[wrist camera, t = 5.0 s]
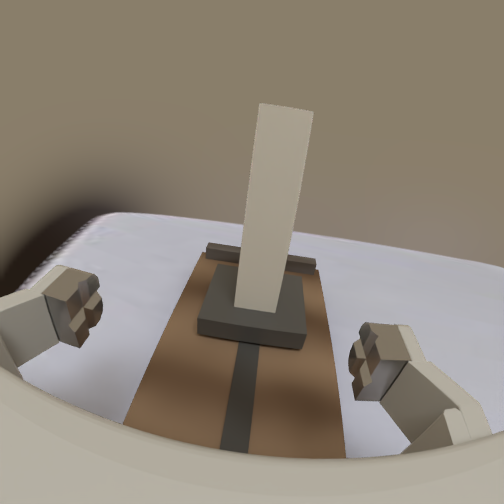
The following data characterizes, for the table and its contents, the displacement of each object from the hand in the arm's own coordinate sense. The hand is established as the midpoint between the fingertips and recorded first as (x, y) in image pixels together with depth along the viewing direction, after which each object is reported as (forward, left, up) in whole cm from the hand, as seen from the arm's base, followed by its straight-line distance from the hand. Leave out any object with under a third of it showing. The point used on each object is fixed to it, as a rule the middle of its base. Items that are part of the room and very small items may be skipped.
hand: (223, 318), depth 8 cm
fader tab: (+6, +6, -6) cm, 11 cm away
